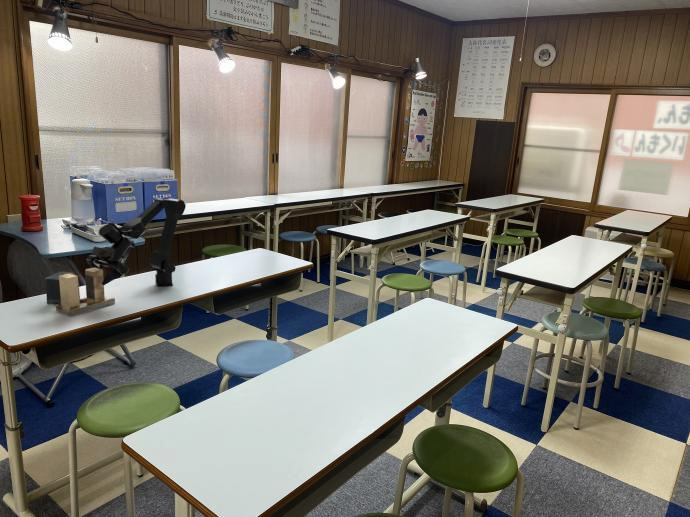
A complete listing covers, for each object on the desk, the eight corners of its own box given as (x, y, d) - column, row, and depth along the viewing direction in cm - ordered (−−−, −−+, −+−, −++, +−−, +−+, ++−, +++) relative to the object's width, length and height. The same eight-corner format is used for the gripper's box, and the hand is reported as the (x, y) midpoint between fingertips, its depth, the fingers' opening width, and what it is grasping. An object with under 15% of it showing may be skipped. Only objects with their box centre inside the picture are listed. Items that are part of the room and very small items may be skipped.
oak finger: (96, 298, 201) (94, 267, 198) (104, 301, 199) (102, 269, 196) (86, 301, 197) (83, 269, 194) (94, 304, 195) (92, 272, 192)
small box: (62, 305, 196) (60, 279, 193) (46, 304, 196) (43, 278, 193) (77, 296, 206) (75, 272, 203) (61, 295, 206) (59, 271, 203)
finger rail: (100, 298, 205) (98, 265, 202) (115, 303, 201) (113, 269, 197) (56, 311, 189) (52, 275, 186) (71, 316, 185) (68, 279, 182)
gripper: (89, 235, 201) (64, 267, 194) (120, 242, 193) (96, 276, 186) (107, 250, 210) (85, 282, 203) (138, 258, 201) (116, 291, 195)
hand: (94, 282), depth 196 cm, fingers open, 9 cm apart
